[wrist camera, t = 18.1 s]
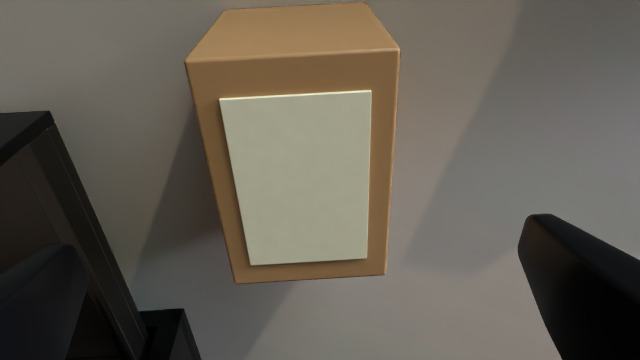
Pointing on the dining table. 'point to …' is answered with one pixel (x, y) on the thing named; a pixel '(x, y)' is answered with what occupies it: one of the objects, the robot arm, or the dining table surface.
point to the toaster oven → (169, 335)
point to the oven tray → (64, 234)
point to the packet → (299, 138)
